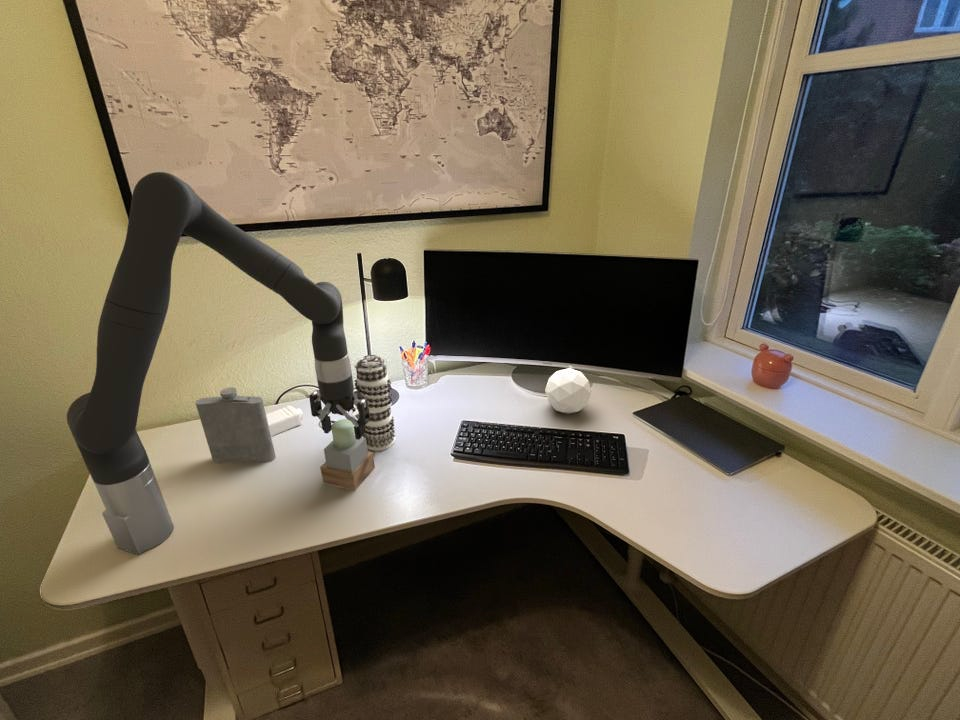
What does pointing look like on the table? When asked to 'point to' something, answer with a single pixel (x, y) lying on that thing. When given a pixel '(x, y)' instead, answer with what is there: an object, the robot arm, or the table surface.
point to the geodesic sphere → (568, 390)
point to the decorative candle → (376, 401)
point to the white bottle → (284, 419)
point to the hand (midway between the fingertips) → (343, 434)
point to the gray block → (346, 455)
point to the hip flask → (236, 427)
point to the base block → (348, 474)
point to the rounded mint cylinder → (343, 434)
